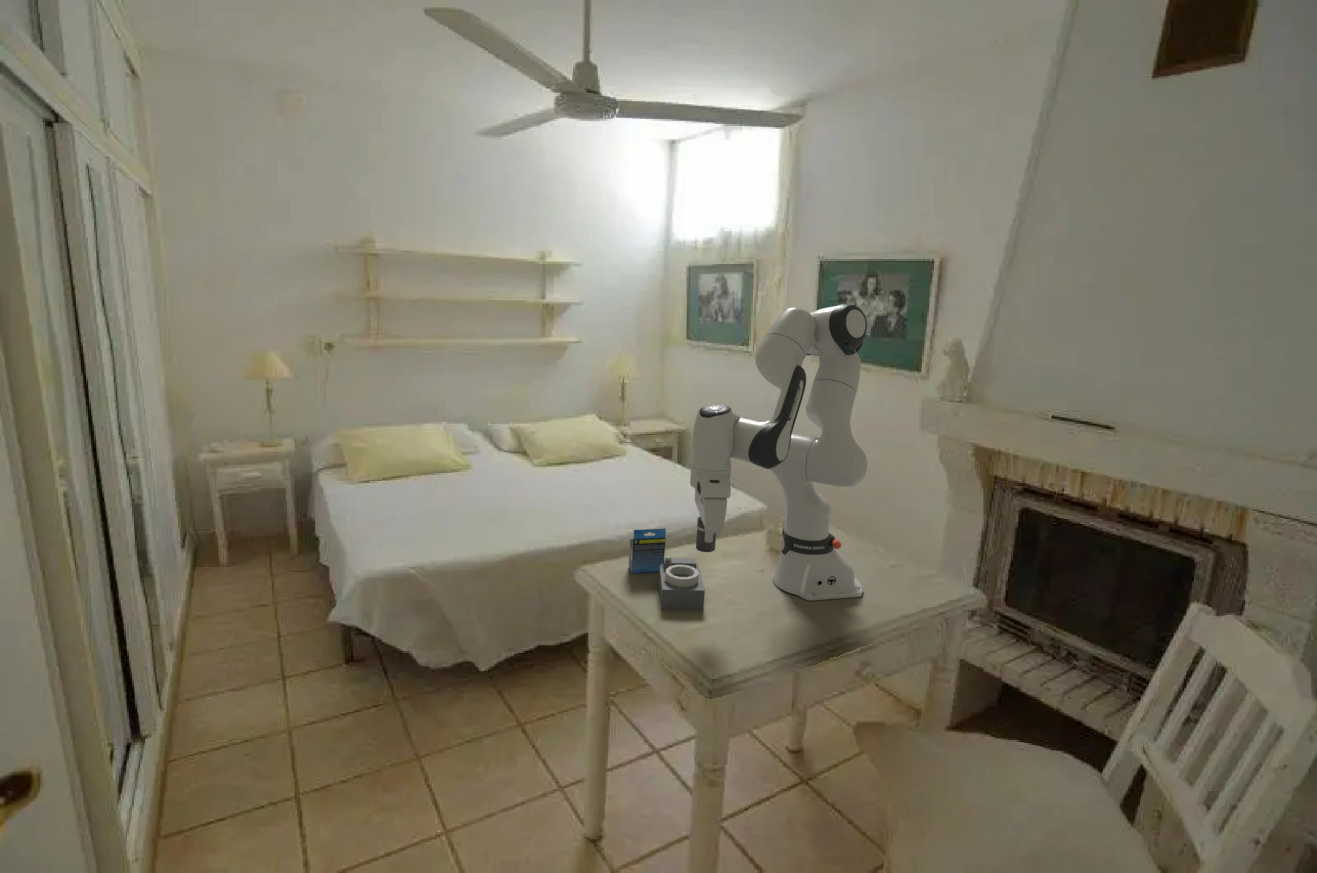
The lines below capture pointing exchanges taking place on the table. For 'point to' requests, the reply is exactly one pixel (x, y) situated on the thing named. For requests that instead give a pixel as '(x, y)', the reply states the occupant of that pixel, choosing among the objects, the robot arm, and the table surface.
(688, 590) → the camera body
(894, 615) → the table surface
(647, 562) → the label tape box
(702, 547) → the lens
